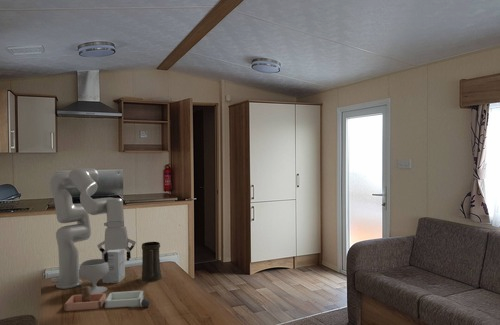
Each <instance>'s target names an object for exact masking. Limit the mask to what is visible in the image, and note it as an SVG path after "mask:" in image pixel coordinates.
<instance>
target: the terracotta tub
mask: <svg viewBox="0 0 500 325" xmlns="http://www.w3.org/2000/svg"><path fill="white" fill-rule="evenodd" d="M90 298H91V302H82V294H72V295H71V296H70V298H68V300H66V302H65V303H64V311H65V312H66V311H67V312H68V311H69V312H70V311H82V310H95V309H96V310H98V309H102V307H103V306H104V305H105V300H106V299H107V292H102V293H97V294H90Z"/></svg>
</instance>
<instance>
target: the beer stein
mask: <svg viewBox="0 0 500 325" xmlns="http://www.w3.org/2000/svg"><path fill="white" fill-rule="evenodd" d="M160 247H161V244H160V242H159V241H148V242H147V241H146V242H142V244H141V250H142V262H141V281H143V282H148V283H149V282H156V281H160V280H161V279H162V270H161V263H160V262H161V261H160V260H161V259H160Z"/></svg>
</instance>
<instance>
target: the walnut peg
mask: <svg viewBox="0 0 500 325" xmlns="http://www.w3.org/2000/svg"><path fill="white" fill-rule="evenodd" d="M90 288H91V285H84V286H82V287H81V295H82V302H91V298H90Z"/></svg>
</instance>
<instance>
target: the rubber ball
mask: <svg viewBox="0 0 500 325" xmlns="http://www.w3.org/2000/svg"><path fill="white" fill-rule="evenodd" d="M150 304H151V301H150V299H148V298H143V300H142V302H141V306H142V307H143V308H146V307H149V305H150Z"/></svg>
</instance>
